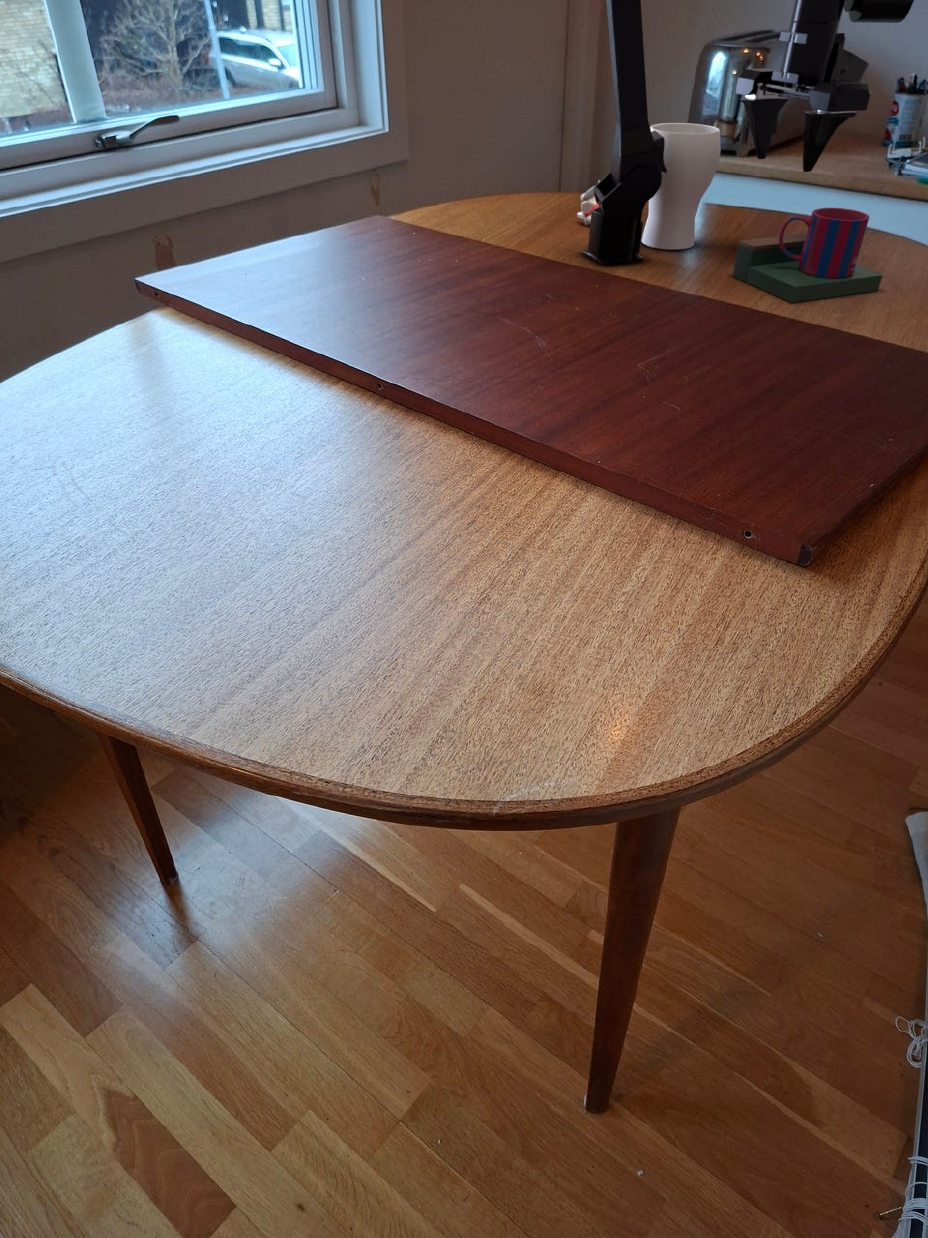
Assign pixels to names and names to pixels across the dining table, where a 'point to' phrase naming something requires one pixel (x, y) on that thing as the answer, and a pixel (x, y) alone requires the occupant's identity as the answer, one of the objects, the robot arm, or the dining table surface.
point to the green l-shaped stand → (794, 272)
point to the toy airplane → (588, 205)
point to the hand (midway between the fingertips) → (783, 164)
